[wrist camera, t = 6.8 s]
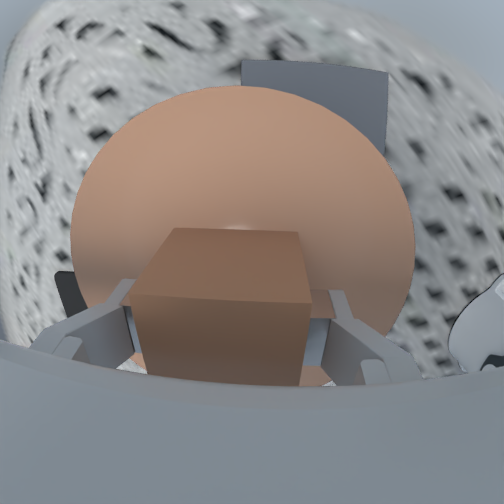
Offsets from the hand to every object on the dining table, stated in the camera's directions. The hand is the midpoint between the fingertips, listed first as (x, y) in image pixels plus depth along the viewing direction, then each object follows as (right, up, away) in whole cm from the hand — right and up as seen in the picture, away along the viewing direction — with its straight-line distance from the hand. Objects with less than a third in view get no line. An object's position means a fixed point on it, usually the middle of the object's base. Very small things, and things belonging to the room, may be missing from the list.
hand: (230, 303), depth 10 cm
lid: (0, +1, +2) cm, 2 cm away
